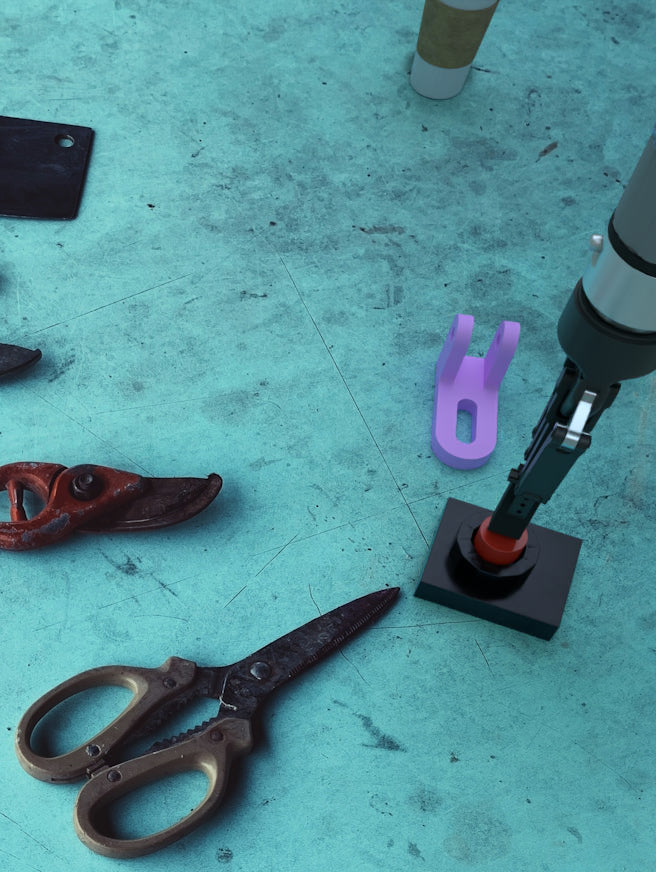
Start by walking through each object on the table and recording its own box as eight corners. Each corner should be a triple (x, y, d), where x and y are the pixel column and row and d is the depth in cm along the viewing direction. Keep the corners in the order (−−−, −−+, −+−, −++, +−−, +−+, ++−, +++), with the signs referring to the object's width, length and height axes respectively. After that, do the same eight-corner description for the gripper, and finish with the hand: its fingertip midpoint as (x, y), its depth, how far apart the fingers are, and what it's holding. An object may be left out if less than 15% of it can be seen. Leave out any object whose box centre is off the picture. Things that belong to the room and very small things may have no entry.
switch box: (573, 555, 106) (592, 525, 102) (549, 642, 102) (568, 614, 98) (441, 512, 108) (455, 482, 104) (412, 596, 104) (426, 567, 100)
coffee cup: (473, 65, 137) (522, -80, 123) (472, 111, 133) (522, -33, 120) (400, 55, 137) (440, -90, 124) (396, 101, 133) (437, -43, 120)
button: (525, 536, 102) (532, 523, 101) (514, 571, 101) (522, 558, 99) (479, 521, 103) (486, 508, 101) (468, 556, 101) (475, 542, 100)
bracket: (436, 363, 116) (459, 304, 110) (494, 371, 116) (520, 313, 109) (429, 464, 110) (453, 408, 104) (490, 474, 110) (518, 418, 104)
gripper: (597, 218, 82) (479, 459, 103) (558, 345, 76) (441, 572, 97) (707, 250, 81) (565, 486, 102) (675, 381, 75) (532, 602, 96)
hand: (505, 528), depth 100 cm, fingers closed
